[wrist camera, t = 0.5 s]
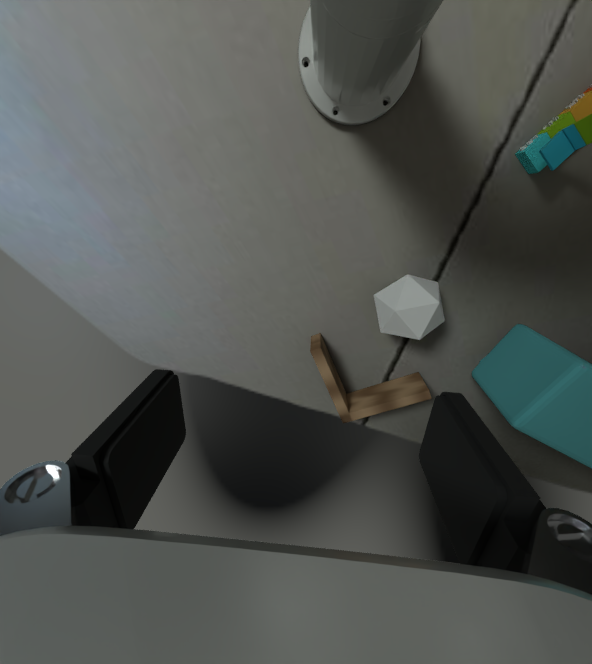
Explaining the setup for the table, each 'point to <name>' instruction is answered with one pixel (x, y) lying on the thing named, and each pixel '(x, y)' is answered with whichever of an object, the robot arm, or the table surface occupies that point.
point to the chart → (560, 136)
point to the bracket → (366, 389)
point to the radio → (541, 391)
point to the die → (409, 307)
